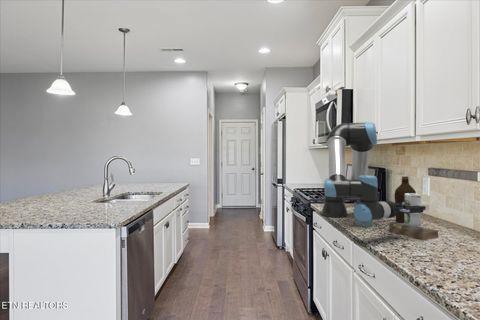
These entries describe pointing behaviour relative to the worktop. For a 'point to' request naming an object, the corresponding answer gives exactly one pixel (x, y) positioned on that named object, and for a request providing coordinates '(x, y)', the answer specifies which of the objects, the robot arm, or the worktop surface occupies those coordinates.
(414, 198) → the syrup box
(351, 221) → the worktop surface
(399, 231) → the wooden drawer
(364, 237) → the worktop surface
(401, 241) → the worktop surface
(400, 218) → the olive oil
